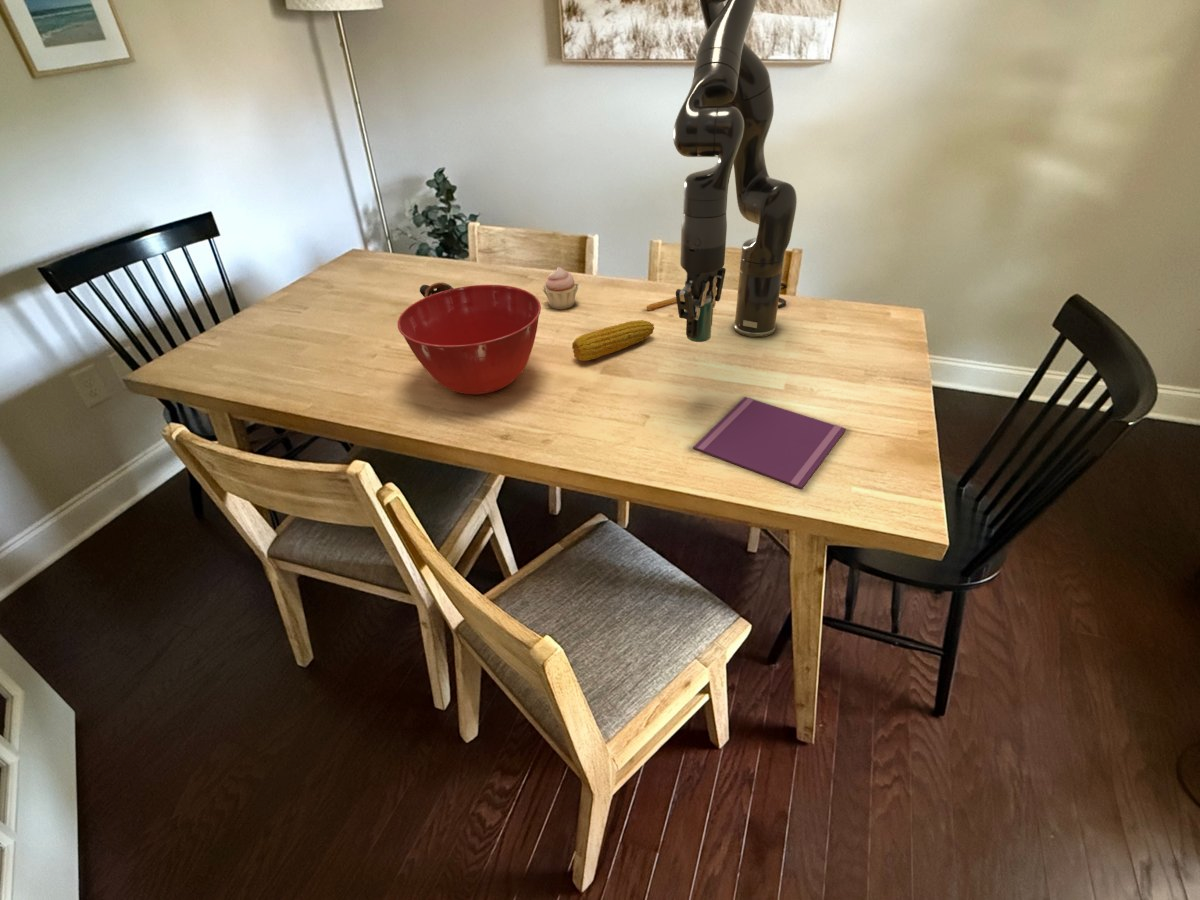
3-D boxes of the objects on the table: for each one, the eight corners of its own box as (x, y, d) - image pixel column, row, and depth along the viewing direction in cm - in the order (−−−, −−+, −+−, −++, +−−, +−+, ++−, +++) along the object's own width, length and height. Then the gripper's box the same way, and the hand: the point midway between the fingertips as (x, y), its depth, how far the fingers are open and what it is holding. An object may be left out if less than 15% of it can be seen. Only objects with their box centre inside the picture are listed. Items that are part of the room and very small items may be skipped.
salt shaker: (694, 329, 121) (696, 289, 116) (715, 334, 119) (717, 294, 114) (682, 338, 118) (683, 297, 113) (703, 344, 116) (705, 302, 111)
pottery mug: (470, 305, 169) (463, 286, 161) (451, 332, 166) (443, 314, 158) (432, 288, 171) (424, 268, 164) (412, 315, 168) (403, 296, 160)
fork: (649, 306, 159) (713, 286, 166) (645, 302, 160) (709, 282, 167) (648, 314, 161) (712, 294, 168) (644, 310, 162) (707, 290, 169)
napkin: (744, 398, 126) (744, 396, 125) (845, 430, 115) (846, 428, 115) (693, 448, 113) (693, 446, 113) (801, 489, 103) (801, 487, 103)
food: (584, 368, 138) (582, 343, 134) (569, 359, 142) (567, 334, 138) (659, 339, 147) (659, 315, 144) (643, 331, 151) (643, 307, 148)
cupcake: (562, 294, 171) (559, 257, 165) (587, 303, 166) (585, 265, 160) (536, 305, 166) (532, 268, 160) (560, 315, 160) (557, 276, 155)
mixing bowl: (428, 429, 121) (411, 357, 112) (403, 365, 143) (386, 300, 133) (567, 393, 130) (561, 323, 121) (523, 337, 151) (515, 274, 142)
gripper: (704, 224, 114) (700, 313, 124) (661, 248, 105) (661, 342, 115) (743, 230, 110) (735, 321, 120) (702, 256, 101) (697, 352, 112)
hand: (699, 331), depth 118 cm, fingers closed on salt shaker, 4 cm apart
